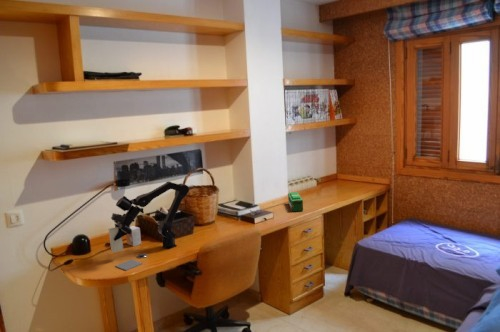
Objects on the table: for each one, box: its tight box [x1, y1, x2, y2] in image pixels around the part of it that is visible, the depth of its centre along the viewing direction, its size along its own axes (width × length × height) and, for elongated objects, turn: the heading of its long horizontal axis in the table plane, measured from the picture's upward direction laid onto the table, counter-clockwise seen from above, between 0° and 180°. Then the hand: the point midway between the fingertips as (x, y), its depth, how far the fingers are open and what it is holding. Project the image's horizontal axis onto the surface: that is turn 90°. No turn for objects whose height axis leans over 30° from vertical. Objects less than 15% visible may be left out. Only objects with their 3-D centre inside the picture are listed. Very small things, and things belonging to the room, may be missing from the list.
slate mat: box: [114, 259, 143, 271], centre depth 215 cm, size 10×10×1 cm
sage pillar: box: [108, 227, 124, 253], centre depth 223 cm, size 6×6×12 cm
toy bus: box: [287, 191, 304, 212], centre depth 307 cm, size 11×27×10 cm, turn 173°
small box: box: [125, 225, 142, 247], centre depth 248 cm, size 8×6×10 cm
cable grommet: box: [136, 253, 148, 259], centre depth 227 cm, size 6×6×1 cm
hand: (113, 238), depth 222 cm, fingers closed on sage pillar, 5 cm apart
